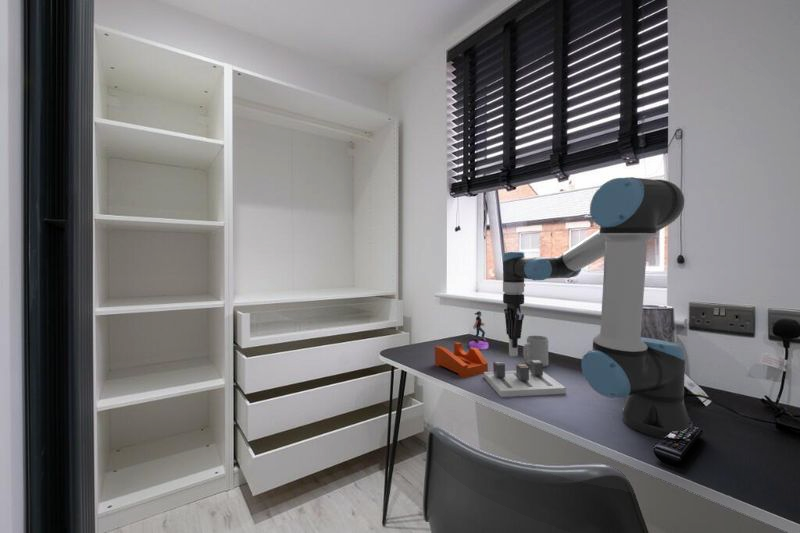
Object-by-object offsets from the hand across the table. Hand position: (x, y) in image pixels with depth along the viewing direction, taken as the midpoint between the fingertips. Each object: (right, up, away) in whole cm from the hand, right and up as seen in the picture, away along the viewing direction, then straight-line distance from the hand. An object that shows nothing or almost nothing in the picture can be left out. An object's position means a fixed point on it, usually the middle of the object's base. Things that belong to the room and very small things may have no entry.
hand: (513, 355), depth 128 cm
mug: (+14, -8, +15) cm, 22 cm away
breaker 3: (+7, -6, -3) cm, 10 cm away
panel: (+1, -9, -7) cm, 11 cm away
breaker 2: (+1, -6, -8) cm, 10 cm away
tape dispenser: (-18, -9, +12) cm, 23 cm away
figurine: (-3, -7, +43) cm, 44 cm away
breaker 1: (-7, -6, -4) cm, 10 cm away
